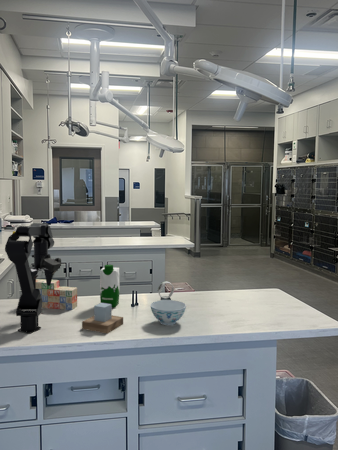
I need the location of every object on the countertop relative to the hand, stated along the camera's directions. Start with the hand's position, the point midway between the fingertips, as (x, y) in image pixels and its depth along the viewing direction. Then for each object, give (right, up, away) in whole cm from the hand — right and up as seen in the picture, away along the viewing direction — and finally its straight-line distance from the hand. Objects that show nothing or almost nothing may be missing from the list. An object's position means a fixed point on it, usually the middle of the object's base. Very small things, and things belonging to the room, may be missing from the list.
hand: (41, 288), depth 174 cm
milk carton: (+27, -12, +20) cm, 35 cm away
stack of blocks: (0, -12, +17) cm, 21 cm away
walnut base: (+28, -14, -9) cm, 33 cm away
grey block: (+28, -11, -9) cm, 32 cm away
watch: (+53, -12, +24) cm, 59 cm away
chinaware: (+55, -14, -3) cm, 57 cm away
